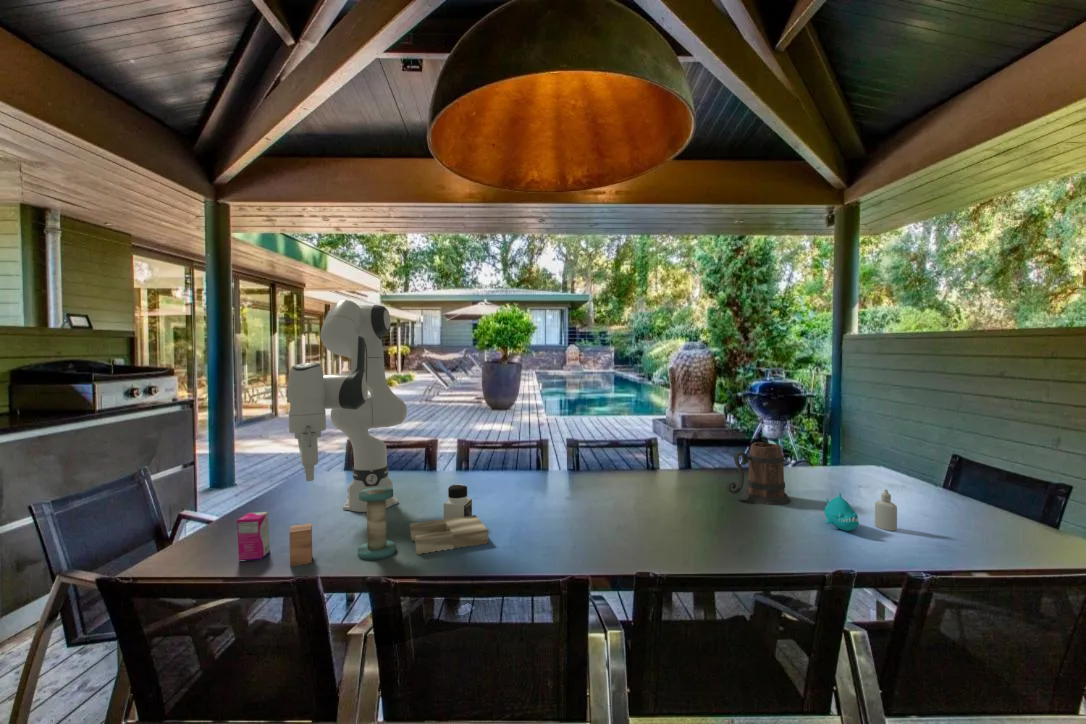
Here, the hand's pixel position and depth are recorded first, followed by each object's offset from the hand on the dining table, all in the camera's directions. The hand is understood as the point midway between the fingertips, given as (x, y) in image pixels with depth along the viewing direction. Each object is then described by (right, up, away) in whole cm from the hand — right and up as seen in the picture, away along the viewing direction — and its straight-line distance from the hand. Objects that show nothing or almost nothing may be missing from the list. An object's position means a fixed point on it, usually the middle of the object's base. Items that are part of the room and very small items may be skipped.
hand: (309, 476), depth 132 cm
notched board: (+34, -22, +15) cm, 43 cm away
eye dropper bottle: (+167, -21, +22) cm, 170 cm away
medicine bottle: (+34, -22, +30) cm, 51 cm away
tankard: (+141, -21, +53) cm, 152 cm away
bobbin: (+16, -22, +6) cm, 28 cm away
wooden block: (-2, -23, +1) cm, 23 cm away
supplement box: (-17, -23, +4) cm, 28 cm away
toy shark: (+154, -21, +24) cm, 158 cm away
